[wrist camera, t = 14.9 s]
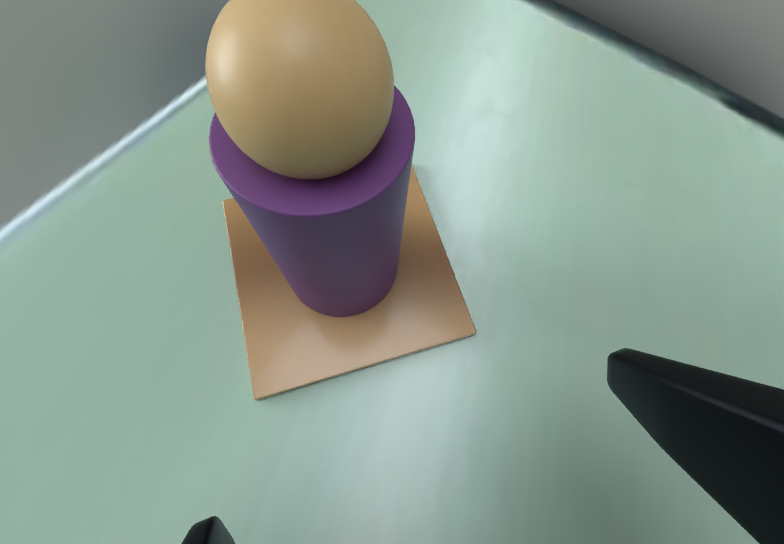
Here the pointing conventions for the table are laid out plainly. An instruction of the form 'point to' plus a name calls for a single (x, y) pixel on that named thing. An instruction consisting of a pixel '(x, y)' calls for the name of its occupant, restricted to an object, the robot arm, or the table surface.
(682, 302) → the table surface
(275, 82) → the peg doll toy
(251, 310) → the cork coaster
